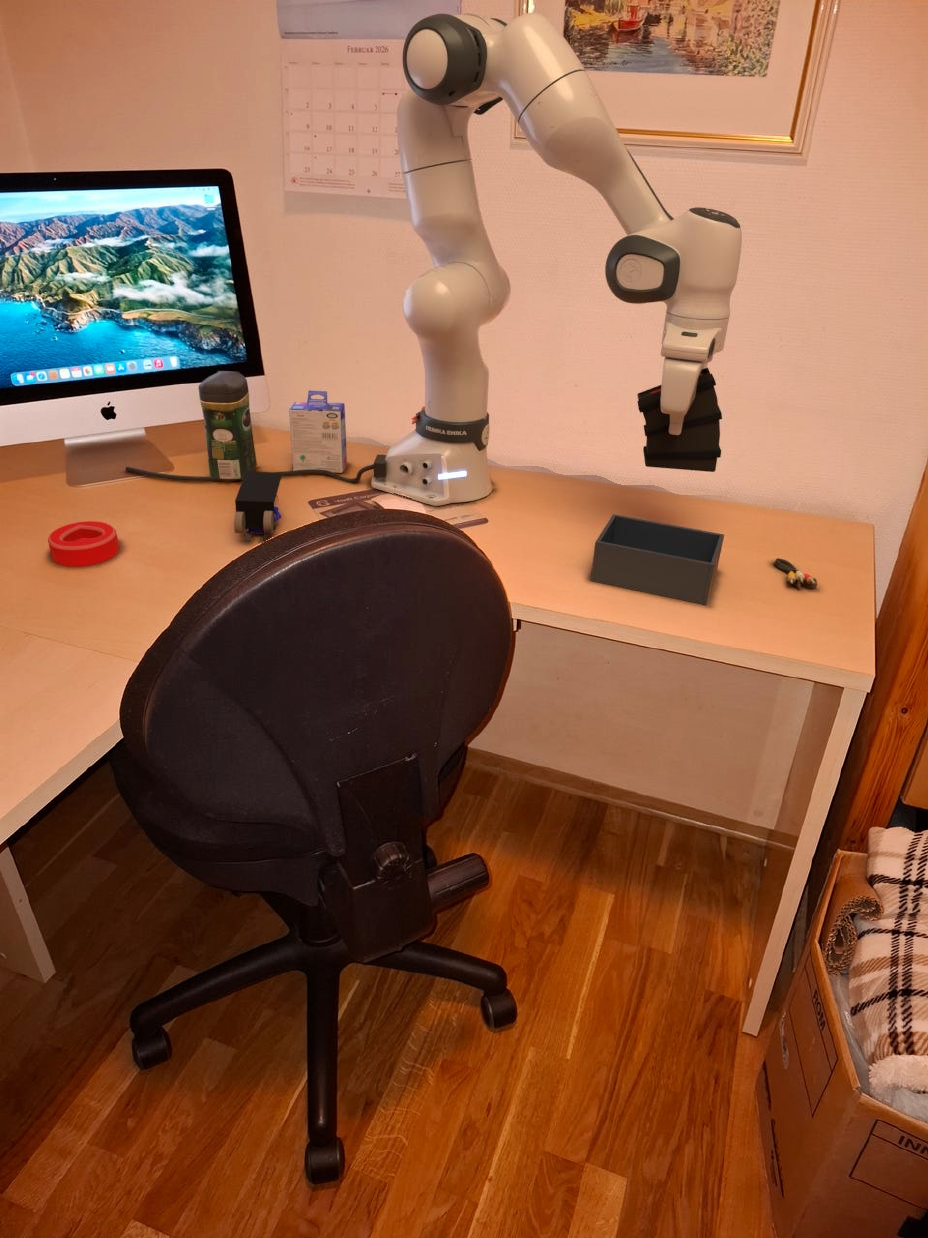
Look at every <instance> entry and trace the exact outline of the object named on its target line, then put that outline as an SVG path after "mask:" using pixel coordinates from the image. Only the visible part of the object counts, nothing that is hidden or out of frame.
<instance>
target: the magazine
mask: <svg viewBox="0 0 928 1238" xmlns="http://www.w3.org/2000/svg"><path fill="white" fill-rule="evenodd" d="M661 386H662V384H659V385H657V386H653V387H651V388H648V389H645V390H642V391H640V392H638V393H637V395H636V396H637V408H638V411H639V413H642V415H643V418H644V422H645V424H643V432H644V436H645V437H646V441H645V445H644V446H643V449H642V451H643V457H644V465H645V467H646V468H656V469H657V468H658V469H670V470H681V471H694V472H695V471H696V472H709V473H715V472H716V469H717V463H718V458H721V457H722V448H721V446H720V439H721V438H720V437H721V424H720V420H723V413H722V411H721V408H720V406H719V402H718V395H717V392H716V388H715V386H717V383H716V379H715V377H714V375H713V373H711V371H710V369H709V367H707V368H704V369H702V371H701V374H700V376H699V377H698V383H697V388H696V396H695V399H694V401H693V402H692V404H691V406H690V408H689V410H688V411H687V413H686V415H685V416H684V420H683V421H684V422H683V428H682V432H681V433H680V434H679V435H673V434H670V433H669V426H670V414H665V413H662V411H661V403H660V401H661Z"/></svg>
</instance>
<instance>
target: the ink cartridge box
mask: <svg viewBox="0 0 928 1238" xmlns="http://www.w3.org/2000/svg"><path fill="white" fill-rule="evenodd" d="M317 395H318V396H321V397H323V399H322V398H321V399H320V398H312V397H313V396H317ZM345 407H346V406H345V402H328V391H327V390H325V391H324V390H308V391H307V401H306V402H305V401H304V402H300V401H294V402H293V404H292V405H291V407H290V408H289V409H288V417H289V429H290V445H291V446H290V447H291V458H292V471H295V470H308V469H318V470H326V471H330V472H333V473H335V474H337V473H338V474H339V473H341V474H343V473H344V470H345V469H346V467H347V466H348V455H347V454H348V453H347V452H348V450H347V430H346V426H347V425H346V408H345Z"/></svg>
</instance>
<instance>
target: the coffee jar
mask: <svg viewBox="0 0 928 1238" xmlns="http://www.w3.org/2000/svg"><path fill="white" fill-rule="evenodd" d="M248 384H249V383H248V379H247V378H246V377H245V376H244V375H243V374H242V373H241V372H239V371H230V370H228V371H227V370H218V371H217V372H216V373H213V374H212V375H209V376H208V377H207V378H205V379H204V380H202V381H201V383H199V384H198V393H199V394H198V395H199V396H198V397H199V403H200V407H201V411H202V416H203V425H204V432H205V441H206V449H207V450H206V451H207V459H208V460H207V463H208V472H209V475H210V476H215V477H217V478H219V479H220V480H221V481H220V482H228V483H229V482H230V483H232V482H237V481H242V480H243V477H244V475H245V472H246V471H254V472H255V470H256V468H257V456H256V455H257V454H256V448H255V441H254V433H253V425H252V420H251V419H252V418H251V417H252V416H251V409H250V392H249V391H250V390H249V385H248Z"/></svg>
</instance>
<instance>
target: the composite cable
mask: <svg viewBox="0 0 928 1238" xmlns="http://www.w3.org/2000/svg"><path fill="white" fill-rule="evenodd" d="M773 563H774V565H775V566H776V567H777V568H779V569H781V570H783V571H784V572H787V582H788V583H790V584H792V586H794V587H796V588H798V590H800V589H801V586H802V587H805V588H807V589H814V588H817V586H818V580H817V579H816V578H815V577H814V576H812V575H810V574H809V573H804V572H802V571H800V570H798V569H797V568H796V567H795V566H794V565H793V564H792V563H791V562H790V561H788V560H786V559H783V558H778V557H777V558H775V560H774V562H773Z"/></svg>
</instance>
